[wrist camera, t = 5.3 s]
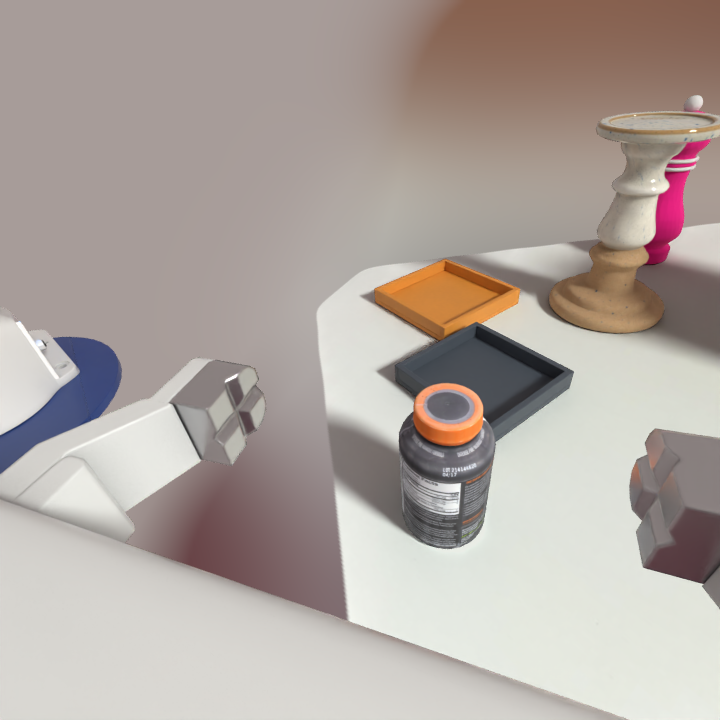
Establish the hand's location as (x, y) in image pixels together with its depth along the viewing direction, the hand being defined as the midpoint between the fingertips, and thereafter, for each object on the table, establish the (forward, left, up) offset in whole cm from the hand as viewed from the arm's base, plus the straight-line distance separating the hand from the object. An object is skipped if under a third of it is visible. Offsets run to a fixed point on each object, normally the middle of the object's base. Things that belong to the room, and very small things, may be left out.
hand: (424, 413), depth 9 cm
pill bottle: (-7, +9, -22) cm, 25 cm away
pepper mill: (-19, +61, -22) cm, 68 cm away
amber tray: (-29, +31, -22) cm, 48 cm away
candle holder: (-15, +44, -22) cm, 51 cm away
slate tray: (-15, +22, -22) cm, 35 cm away
